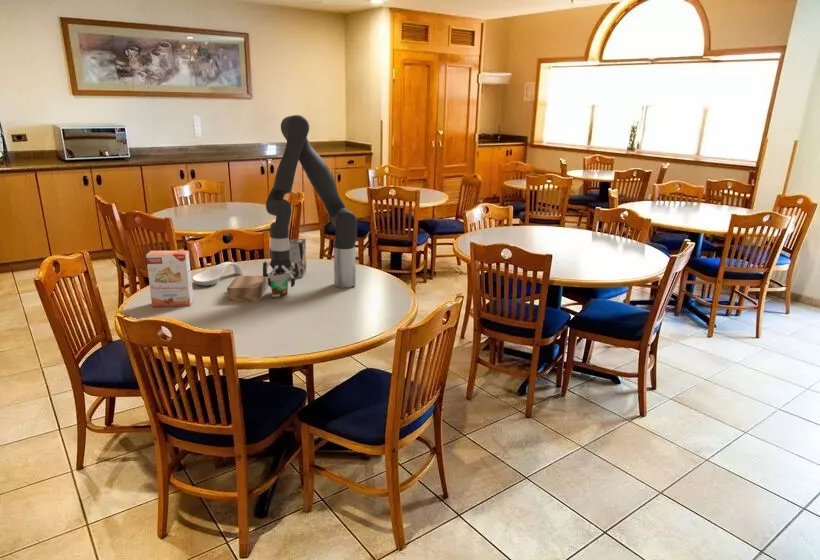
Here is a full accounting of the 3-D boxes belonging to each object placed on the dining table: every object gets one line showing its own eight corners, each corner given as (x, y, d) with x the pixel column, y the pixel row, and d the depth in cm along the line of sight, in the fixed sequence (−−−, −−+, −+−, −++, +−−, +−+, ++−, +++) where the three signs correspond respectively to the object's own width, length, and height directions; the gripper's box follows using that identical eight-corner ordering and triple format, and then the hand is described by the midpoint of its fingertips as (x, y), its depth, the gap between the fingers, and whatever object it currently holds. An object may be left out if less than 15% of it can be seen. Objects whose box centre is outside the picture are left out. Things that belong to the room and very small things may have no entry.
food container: (286, 300, 215) (285, 276, 212) (271, 299, 215) (269, 275, 212) (293, 290, 227) (292, 267, 224) (279, 289, 227) (277, 267, 224)
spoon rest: (205, 290, 224) (204, 274, 222) (186, 285, 230) (185, 269, 228) (248, 276, 244) (247, 261, 242) (230, 272, 250) (228, 257, 247)
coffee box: (303, 278, 243) (301, 243, 238) (289, 277, 243) (287, 242, 239) (307, 272, 252) (306, 238, 247) (293, 271, 252) (292, 238, 247)
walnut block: (266, 289, 228) (265, 275, 226) (259, 302, 213) (258, 287, 211) (237, 289, 227) (236, 275, 225) (228, 302, 212) (226, 287, 210)
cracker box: (151, 307, 203) (144, 254, 197) (156, 302, 209) (149, 250, 203) (190, 306, 205) (185, 253, 199) (194, 301, 211) (188, 249, 205)
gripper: (299, 246, 219) (300, 283, 224) (263, 245, 218) (265, 283, 223) (296, 250, 212) (298, 289, 217) (260, 250, 211) (262, 289, 216)
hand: (281, 286), depth 220 cm, fingers open, 8 cm apart
